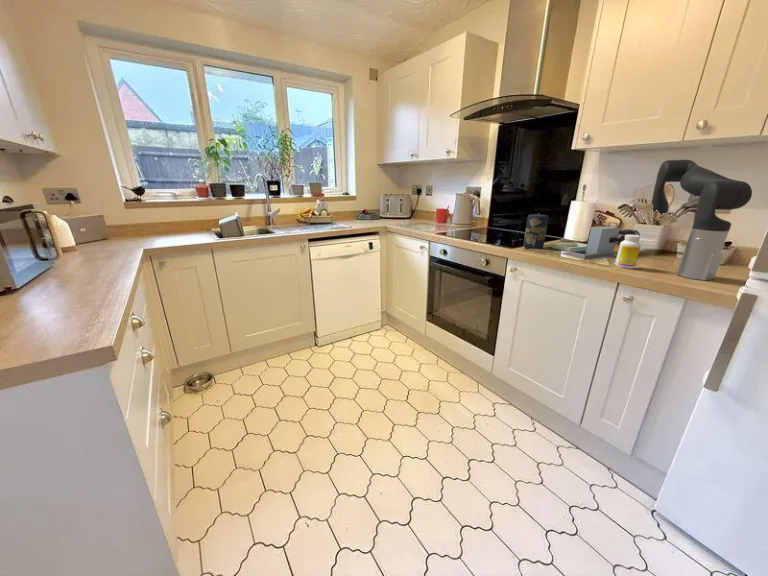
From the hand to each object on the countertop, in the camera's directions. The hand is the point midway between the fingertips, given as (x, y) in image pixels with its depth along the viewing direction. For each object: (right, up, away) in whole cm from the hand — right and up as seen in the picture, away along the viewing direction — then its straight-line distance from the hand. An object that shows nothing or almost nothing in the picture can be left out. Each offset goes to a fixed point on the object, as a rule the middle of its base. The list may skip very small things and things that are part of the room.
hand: (604, 239), depth 144 cm
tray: (-7, -3, +13) cm, 15 cm away
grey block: (-1, -6, +2) cm, 7 cm away
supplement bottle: (-4, -14, -18) cm, 23 cm away
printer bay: (-4, -8, +1) cm, 9 cm away
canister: (-26, -2, +16) cm, 30 cm away
